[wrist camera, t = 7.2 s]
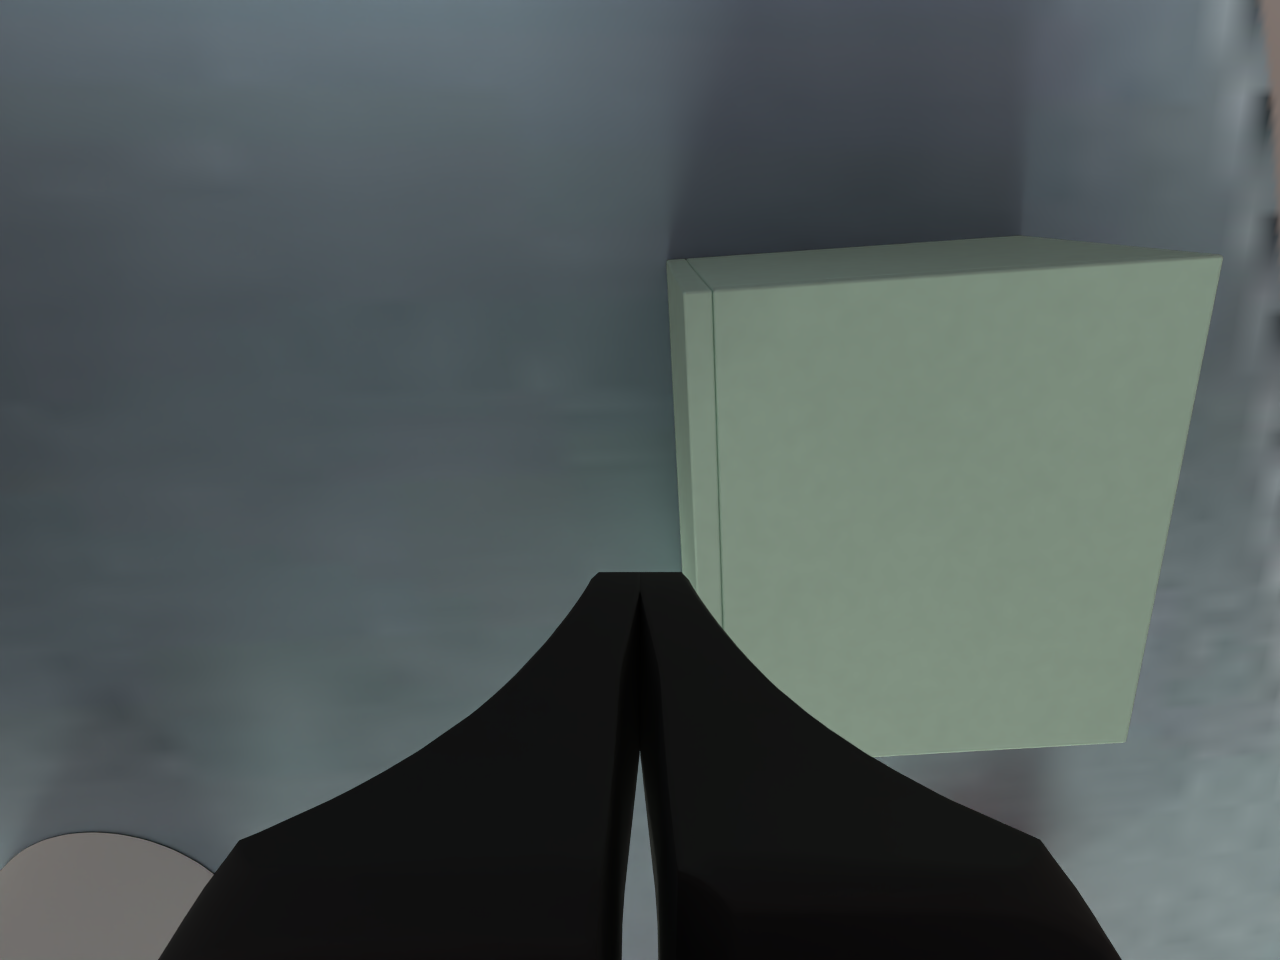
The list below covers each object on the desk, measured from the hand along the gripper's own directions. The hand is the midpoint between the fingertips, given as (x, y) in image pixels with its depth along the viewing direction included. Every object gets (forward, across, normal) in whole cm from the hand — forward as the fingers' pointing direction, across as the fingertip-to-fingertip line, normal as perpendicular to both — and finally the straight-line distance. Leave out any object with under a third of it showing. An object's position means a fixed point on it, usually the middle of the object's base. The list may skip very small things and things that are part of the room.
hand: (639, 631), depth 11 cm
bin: (+7, +1, 0) cm, 7 cm away
